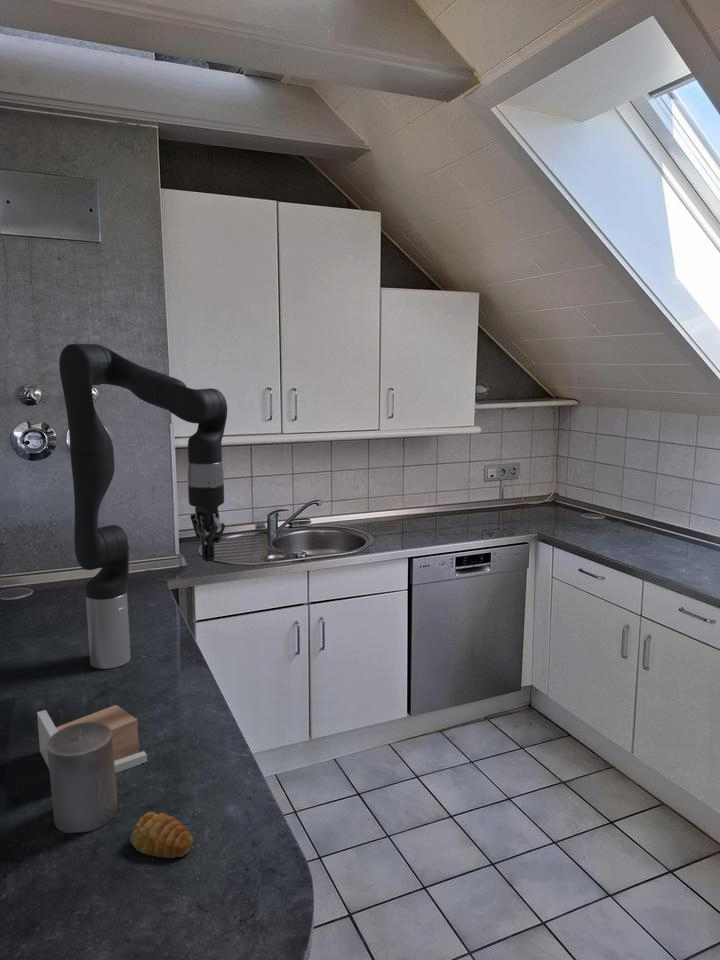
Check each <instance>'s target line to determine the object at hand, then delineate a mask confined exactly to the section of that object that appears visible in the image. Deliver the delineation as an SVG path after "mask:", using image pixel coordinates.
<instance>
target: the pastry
mask: <svg viewBox="0 0 720 960" xmlns="http://www.w3.org/2000/svg"><path fill="white" fill-rule="evenodd" d="M193 838H194V837H193V836H192V834H191V833H190V832H189V830H188V828H187V827H185V826H184V825H183V823H182V821H179V820H178V819H176V818H175V817H174V816H172V815H169V814H168V813H165V812H160V813H158V814H157V813H155V812H154V811H149V812H147V813H145V814H144V815H142V816H141V817H140V818H139V820H138V821H137V822H136V824H135V825H134V827H133V828H132V833H131V835H130V839H129V840H130V843H131V845H132V846H133V848H135V849H136V851H137V852H140V853H142V855H144V854H149V855H152V856H151V857H154V856H159V857H160V856H161V857H168V858H173V859H176V858H175V857H181V858H182V857H184V856H185V855H186V854H188V853H189V851H191V848H192V845H193V843H194V841H193V840H194V839H193ZM149 855H148V856H149ZM159 857H158V858H159Z"/></svg>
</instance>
